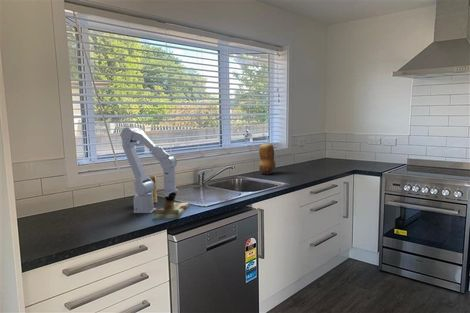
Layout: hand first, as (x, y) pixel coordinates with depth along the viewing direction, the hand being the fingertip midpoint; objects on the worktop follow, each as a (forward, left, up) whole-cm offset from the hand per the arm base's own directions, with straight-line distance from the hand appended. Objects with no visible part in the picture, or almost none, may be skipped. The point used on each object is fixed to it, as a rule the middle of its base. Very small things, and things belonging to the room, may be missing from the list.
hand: (170, 207), depth 175 cm
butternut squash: (+48, +112, -3) cm, 122 cm away
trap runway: (0, +2, -3) cm, 4 cm away
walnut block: (0, -3, 0) cm, 3 cm away
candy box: (-19, +21, -3) cm, 29 cm away
